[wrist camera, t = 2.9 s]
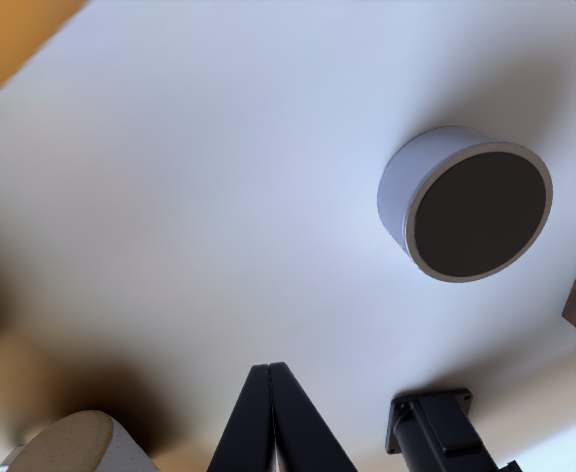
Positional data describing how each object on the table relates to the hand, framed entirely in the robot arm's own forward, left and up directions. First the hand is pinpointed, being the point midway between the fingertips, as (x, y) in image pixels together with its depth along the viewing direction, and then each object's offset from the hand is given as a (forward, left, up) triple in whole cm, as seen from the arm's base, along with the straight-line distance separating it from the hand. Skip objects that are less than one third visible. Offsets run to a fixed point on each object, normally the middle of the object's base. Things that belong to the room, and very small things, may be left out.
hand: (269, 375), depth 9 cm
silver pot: (0, -10, -12) cm, 16 cm away
